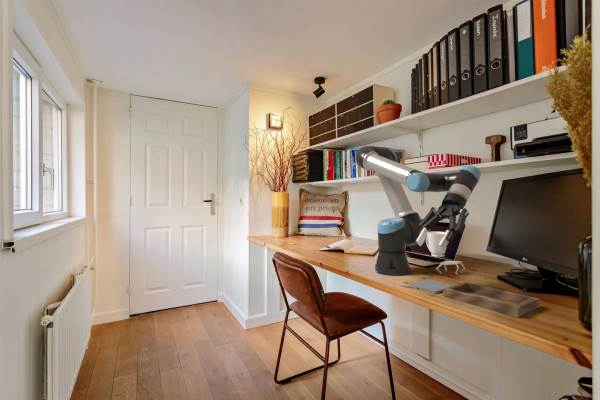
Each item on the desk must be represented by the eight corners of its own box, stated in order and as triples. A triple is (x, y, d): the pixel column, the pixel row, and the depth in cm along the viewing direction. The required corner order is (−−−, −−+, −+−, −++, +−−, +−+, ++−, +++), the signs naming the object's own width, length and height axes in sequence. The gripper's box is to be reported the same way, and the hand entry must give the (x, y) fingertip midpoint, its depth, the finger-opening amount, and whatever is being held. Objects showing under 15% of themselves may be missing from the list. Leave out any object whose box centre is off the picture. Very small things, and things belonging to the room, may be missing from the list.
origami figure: (448, 269, 129) (448, 258, 129) (466, 273, 122) (466, 261, 122) (430, 273, 124) (430, 261, 124) (448, 277, 116) (448, 265, 117)
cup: (434, 258, 98) (433, 234, 98) (418, 252, 108) (418, 231, 108) (453, 256, 99) (452, 233, 99) (436, 251, 109) (435, 230, 109)
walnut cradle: (443, 296, 94) (443, 288, 94) (466, 289, 101) (465, 282, 101) (518, 317, 76) (517, 308, 76) (539, 307, 83) (539, 298, 83)
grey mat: (408, 286, 106) (408, 283, 106) (427, 281, 112) (427, 279, 112) (435, 293, 97) (435, 291, 97) (454, 288, 103) (454, 285, 103)
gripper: (489, 206, 101) (463, 257, 93) (434, 204, 119) (409, 247, 111) (481, 191, 98) (454, 242, 91) (426, 192, 117) (400, 235, 109)
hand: (429, 245), depth 101 cm, fingers closed on cup, 8 cm apart
